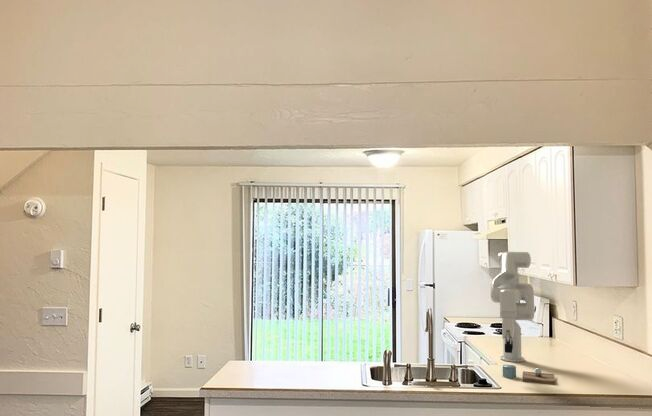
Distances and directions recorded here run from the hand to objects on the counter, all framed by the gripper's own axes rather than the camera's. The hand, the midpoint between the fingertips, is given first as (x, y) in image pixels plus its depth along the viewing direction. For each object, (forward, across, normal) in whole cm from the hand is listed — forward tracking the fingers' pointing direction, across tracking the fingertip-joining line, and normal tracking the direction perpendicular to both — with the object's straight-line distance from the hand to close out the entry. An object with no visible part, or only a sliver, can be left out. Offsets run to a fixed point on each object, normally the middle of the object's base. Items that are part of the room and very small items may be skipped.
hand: (508, 350), depth 247 cm
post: (+11, -1, +13) cm, 17 cm away
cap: (+12, -1, 0) cm, 12 cm away
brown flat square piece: (+12, -1, +13) cm, 18 cm away
